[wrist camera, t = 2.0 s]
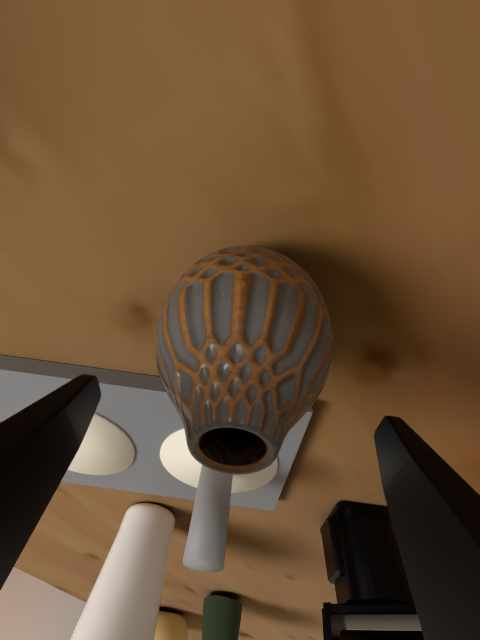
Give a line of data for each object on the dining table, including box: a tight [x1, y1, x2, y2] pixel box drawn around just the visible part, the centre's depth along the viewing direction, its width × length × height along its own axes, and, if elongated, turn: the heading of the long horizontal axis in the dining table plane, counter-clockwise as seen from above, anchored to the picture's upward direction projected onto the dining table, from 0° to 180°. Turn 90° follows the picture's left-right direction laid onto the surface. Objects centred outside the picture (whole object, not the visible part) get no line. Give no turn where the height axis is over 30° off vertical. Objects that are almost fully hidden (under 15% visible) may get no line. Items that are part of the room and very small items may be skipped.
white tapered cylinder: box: [70, 503, 175, 640], centre depth 24 cm, size 7×7×15 cm
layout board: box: [0, 355, 313, 572], centre depth 19 cm, size 22×14×7 cm, turn 84°
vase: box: [156, 246, 333, 475], centre depth 11 cm, size 7×7×9 cm
